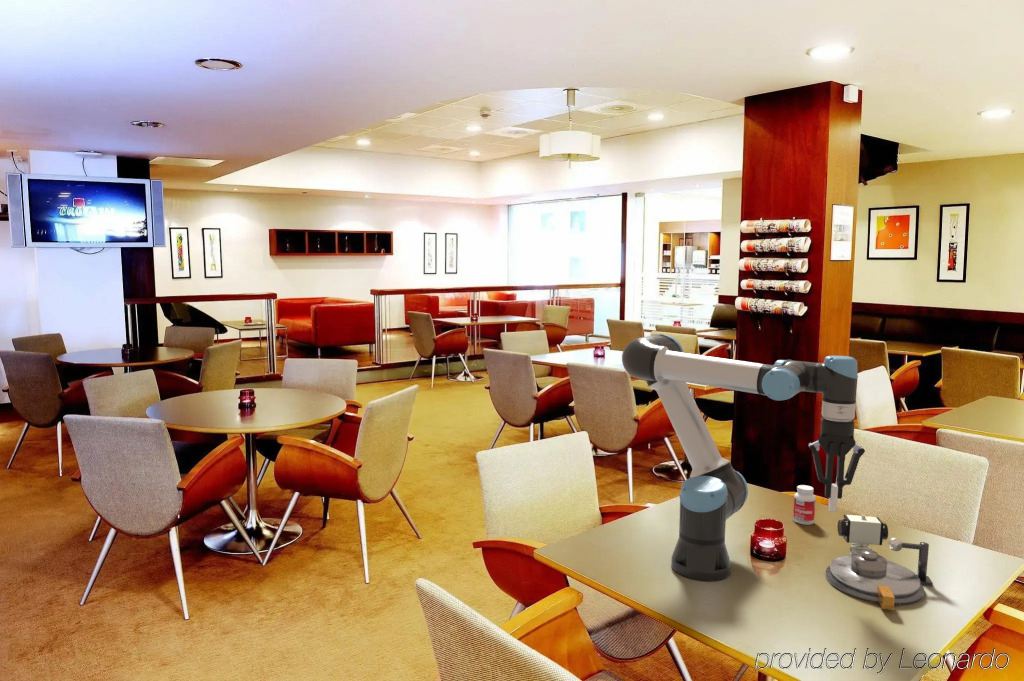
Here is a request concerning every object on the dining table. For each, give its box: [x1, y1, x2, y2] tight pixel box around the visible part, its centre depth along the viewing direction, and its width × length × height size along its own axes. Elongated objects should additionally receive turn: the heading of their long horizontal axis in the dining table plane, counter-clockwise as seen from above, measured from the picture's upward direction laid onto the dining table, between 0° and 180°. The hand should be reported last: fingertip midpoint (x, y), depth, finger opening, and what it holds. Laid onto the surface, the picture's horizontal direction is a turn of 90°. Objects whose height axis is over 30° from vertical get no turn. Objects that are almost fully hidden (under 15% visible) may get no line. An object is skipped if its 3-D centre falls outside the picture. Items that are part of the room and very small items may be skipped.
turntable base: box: [825, 565, 925, 606], centre depth 174 cm, size 22×22×1 cm
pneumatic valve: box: [837, 514, 889, 556], centre depth 189 cm, size 6×12×12 cm, turn 78°
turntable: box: [829, 555, 920, 611], centre depth 171 cm, size 20×26×3 cm
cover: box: [851, 549, 888, 579], centre depth 174 cm, size 8×8×5 cm
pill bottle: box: [792, 484, 817, 526], centre depth 215 cm, size 6×6×11 cm
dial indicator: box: [887, 537, 934, 587], centre depth 176 cm, size 10×4×11 cm, turn 73°
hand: (832, 510), depth 174 cm, fingers closed
